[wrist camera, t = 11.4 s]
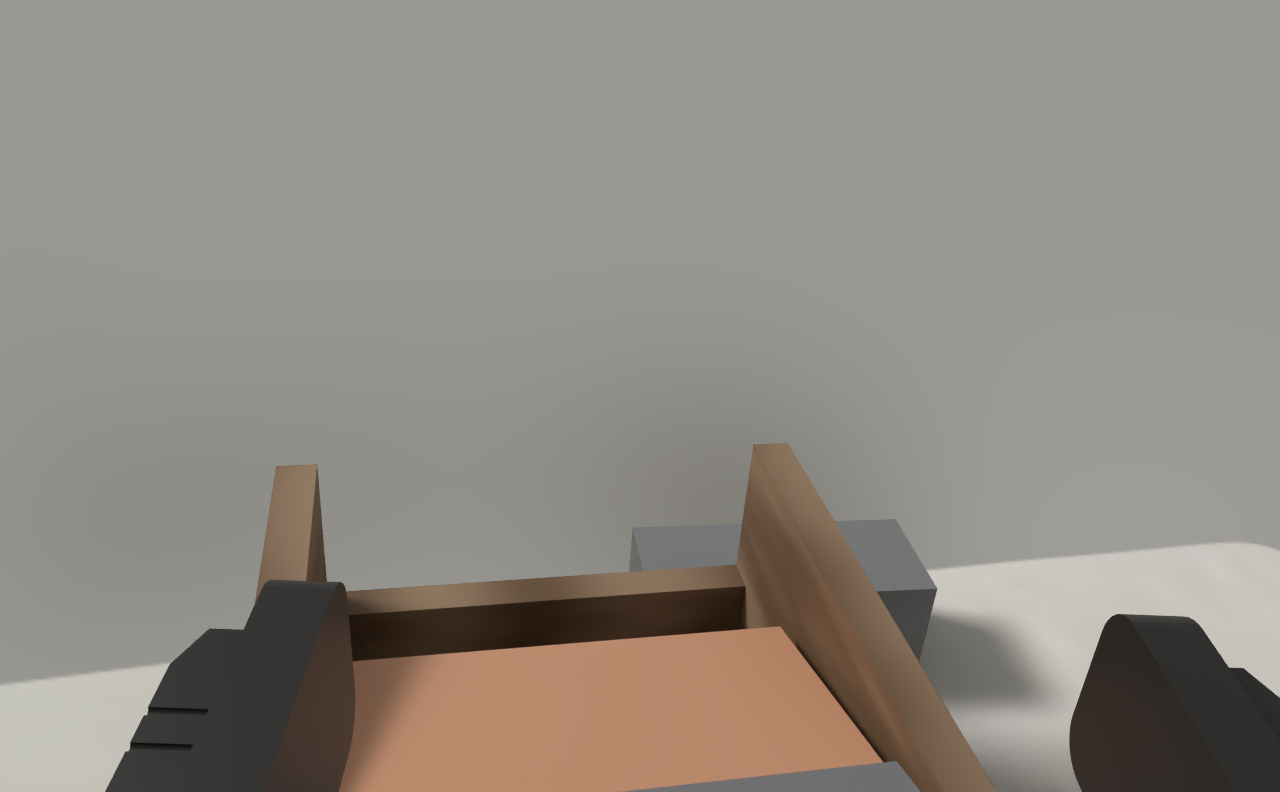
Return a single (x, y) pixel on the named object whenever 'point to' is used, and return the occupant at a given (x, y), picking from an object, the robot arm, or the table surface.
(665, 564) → the basalt block
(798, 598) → the walnut frame
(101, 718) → the table surface
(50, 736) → the table surface
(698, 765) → the trapdoor
